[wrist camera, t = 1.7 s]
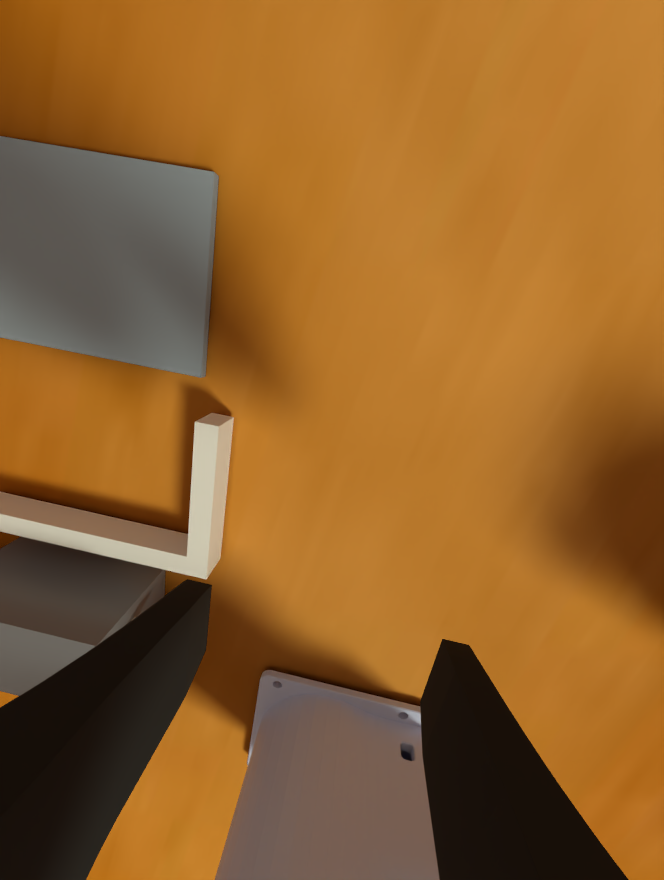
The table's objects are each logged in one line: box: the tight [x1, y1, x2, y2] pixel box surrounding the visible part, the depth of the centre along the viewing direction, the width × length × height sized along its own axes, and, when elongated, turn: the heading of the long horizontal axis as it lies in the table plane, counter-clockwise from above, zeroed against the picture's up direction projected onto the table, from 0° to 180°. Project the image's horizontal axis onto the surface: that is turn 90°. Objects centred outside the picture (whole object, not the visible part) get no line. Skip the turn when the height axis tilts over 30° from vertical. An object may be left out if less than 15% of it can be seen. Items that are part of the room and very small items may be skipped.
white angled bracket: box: [0, 413, 234, 579], centre depth 17 cm, size 12×8×2 cm, turn 80°
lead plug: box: [0, 536, 165, 696], centre depth 18 cm, size 14×4×5 cm, turn 80°
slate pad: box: [0, 136, 219, 378], centre depth 15 cm, size 11×8×1 cm
